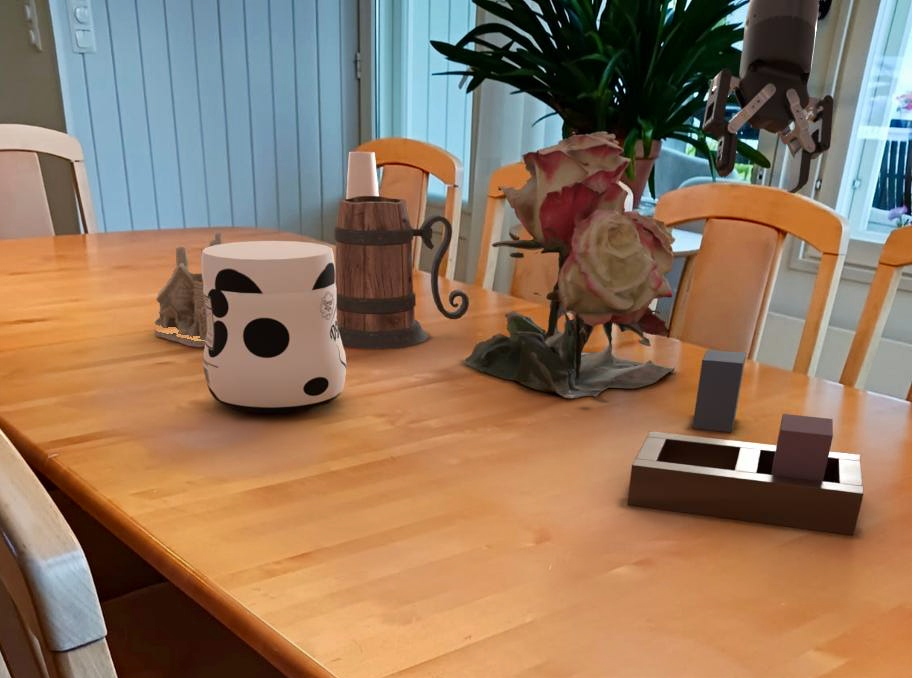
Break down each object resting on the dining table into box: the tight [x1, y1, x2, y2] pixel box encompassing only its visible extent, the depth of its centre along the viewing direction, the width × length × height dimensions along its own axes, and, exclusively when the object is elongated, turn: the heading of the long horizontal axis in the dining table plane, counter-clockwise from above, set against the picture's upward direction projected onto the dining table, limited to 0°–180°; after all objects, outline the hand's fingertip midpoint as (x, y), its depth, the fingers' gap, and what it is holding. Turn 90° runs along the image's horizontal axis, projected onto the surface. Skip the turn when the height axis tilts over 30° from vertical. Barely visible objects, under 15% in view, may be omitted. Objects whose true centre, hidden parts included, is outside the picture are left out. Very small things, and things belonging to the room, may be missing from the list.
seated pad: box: [771, 413, 834, 481], centre depth 92 cm, size 6×4×8 cm
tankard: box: [333, 195, 470, 349], centre depth 150 cm, size 24×17×20 cm
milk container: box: [200, 240, 347, 414], centre depth 117 cm, size 17×17×18 cm
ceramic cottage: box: [154, 232, 224, 348], centre depth 150 cm, size 16×16×15 cm
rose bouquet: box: [449, 131, 676, 400], centre depth 130 cm, size 26×29×30 cm
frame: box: [626, 430, 865, 536], centre depth 94 cm, size 11×20×4 cm, turn 71°
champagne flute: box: [345, 151, 380, 199], centre depth 185 cm, size 7×7×24 cm
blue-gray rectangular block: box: [691, 349, 747, 433], centre depth 114 cm, size 6×4×8 cm
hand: (761, 182), depth 107 cm, fingers open, 8 cm apart
